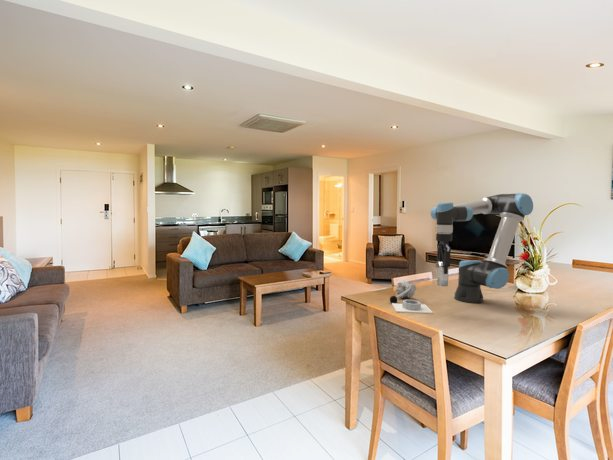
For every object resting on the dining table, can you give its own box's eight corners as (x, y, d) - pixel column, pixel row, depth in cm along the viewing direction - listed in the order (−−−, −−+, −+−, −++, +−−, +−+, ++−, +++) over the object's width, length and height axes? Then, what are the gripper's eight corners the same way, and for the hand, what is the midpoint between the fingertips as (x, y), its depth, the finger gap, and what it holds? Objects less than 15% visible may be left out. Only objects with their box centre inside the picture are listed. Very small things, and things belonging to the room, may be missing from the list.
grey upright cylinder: (445, 284, 168) (446, 261, 167) (449, 286, 163) (450, 262, 162) (433, 283, 168) (434, 260, 168) (436, 286, 163) (437, 262, 163)
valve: (409, 295, 196) (422, 293, 181) (386, 310, 191) (397, 309, 177) (400, 280, 197) (412, 277, 183) (377, 295, 192) (387, 293, 178)
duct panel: (425, 305, 177) (425, 298, 177) (432, 313, 163) (433, 306, 163) (391, 304, 178) (391, 297, 178) (396, 312, 164) (396, 305, 164)
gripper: (431, 231, 173) (430, 274, 175) (442, 234, 155) (441, 282, 157) (445, 231, 172) (444, 275, 174) (458, 234, 154) (457, 283, 156)
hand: (442, 278), depth 165 cm, fingers closed on grey upright cylinder, 5 cm apart
